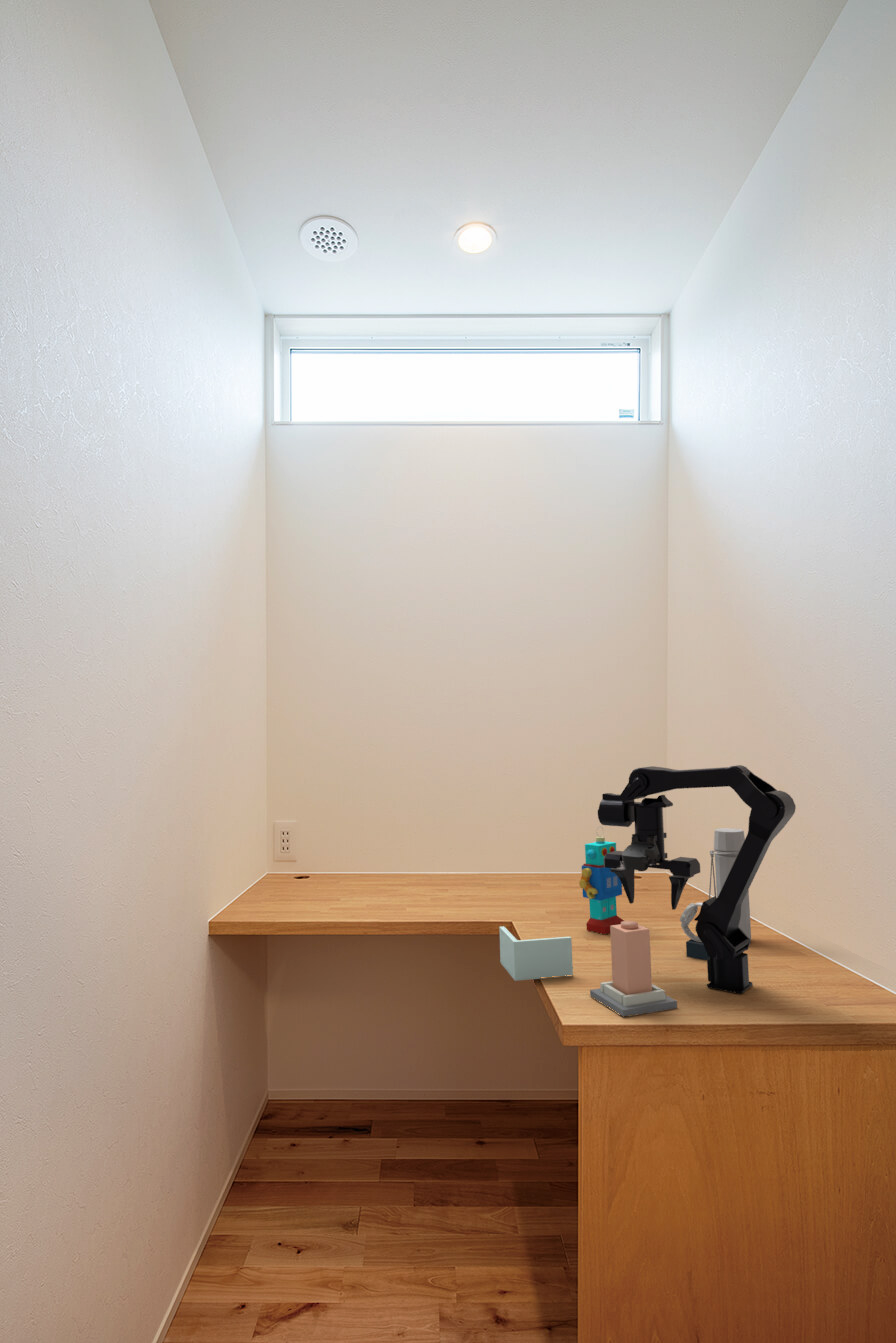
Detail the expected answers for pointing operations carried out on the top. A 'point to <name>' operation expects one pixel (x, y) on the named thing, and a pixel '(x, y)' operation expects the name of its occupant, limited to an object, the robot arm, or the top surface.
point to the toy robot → (600, 886)
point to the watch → (694, 944)
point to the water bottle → (729, 867)
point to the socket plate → (633, 1000)
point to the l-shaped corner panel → (535, 956)
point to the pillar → (631, 958)
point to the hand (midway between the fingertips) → (652, 906)
